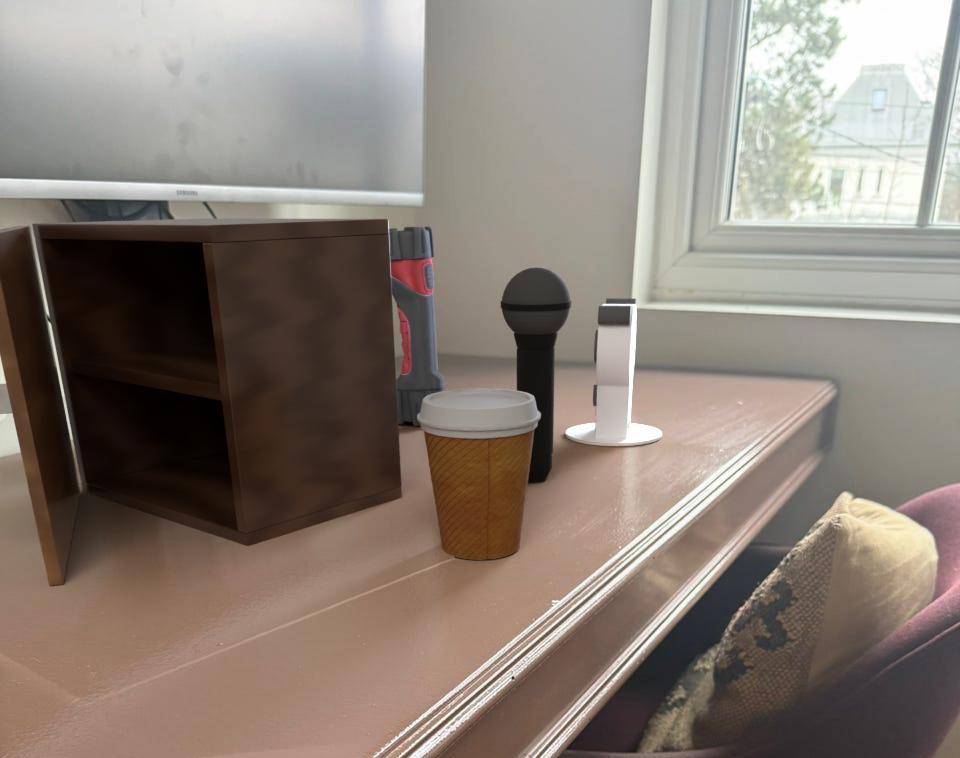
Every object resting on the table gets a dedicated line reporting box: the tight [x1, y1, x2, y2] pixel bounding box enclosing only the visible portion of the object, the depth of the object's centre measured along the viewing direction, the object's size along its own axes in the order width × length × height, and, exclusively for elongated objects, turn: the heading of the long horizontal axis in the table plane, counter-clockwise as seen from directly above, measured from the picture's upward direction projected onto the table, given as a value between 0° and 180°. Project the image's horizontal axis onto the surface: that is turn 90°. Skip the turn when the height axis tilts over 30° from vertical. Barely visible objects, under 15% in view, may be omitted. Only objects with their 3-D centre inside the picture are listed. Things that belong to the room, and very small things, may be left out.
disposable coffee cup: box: [417, 387, 541, 561], centre depth 76 cm, size 10×10×12 cm
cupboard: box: [31, 218, 403, 547], centre depth 89 cm, size 18×26×24 cm
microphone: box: [500, 267, 572, 484], centre depth 93 cm, size 7×7×20 cm
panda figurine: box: [565, 297, 663, 447], centre depth 112 cm, size 12×11×15 cm
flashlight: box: [389, 226, 446, 427], centre depth 119 cm, size 8×8×23 cm
